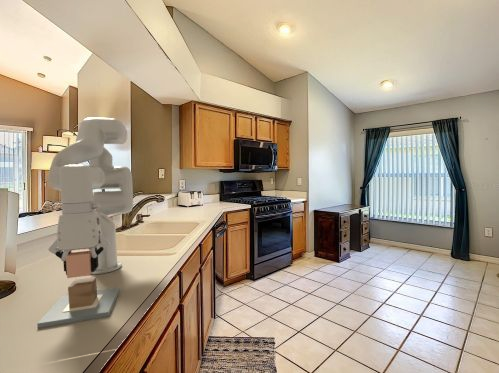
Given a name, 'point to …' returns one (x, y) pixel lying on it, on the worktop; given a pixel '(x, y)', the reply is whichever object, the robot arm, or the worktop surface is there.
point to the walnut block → (82, 292)
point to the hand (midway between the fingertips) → (81, 271)
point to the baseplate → (80, 309)
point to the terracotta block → (78, 263)
